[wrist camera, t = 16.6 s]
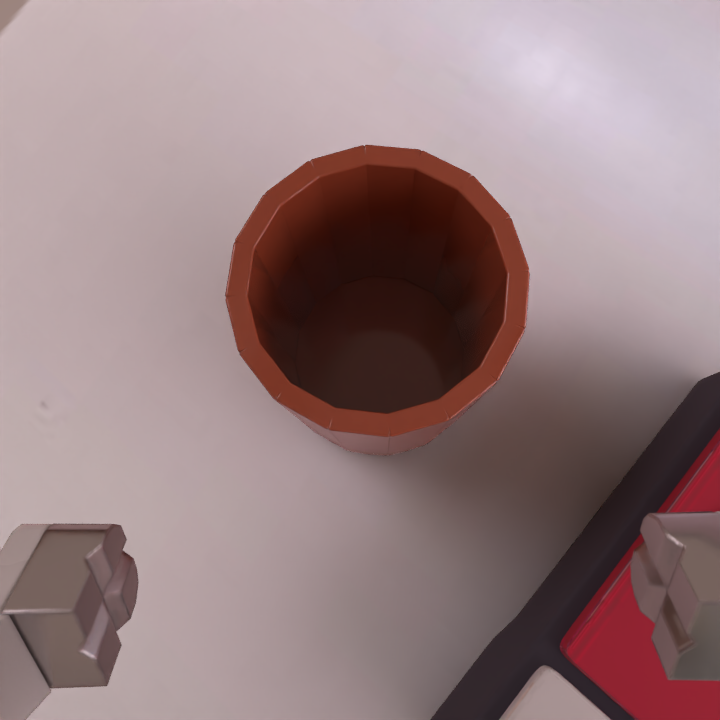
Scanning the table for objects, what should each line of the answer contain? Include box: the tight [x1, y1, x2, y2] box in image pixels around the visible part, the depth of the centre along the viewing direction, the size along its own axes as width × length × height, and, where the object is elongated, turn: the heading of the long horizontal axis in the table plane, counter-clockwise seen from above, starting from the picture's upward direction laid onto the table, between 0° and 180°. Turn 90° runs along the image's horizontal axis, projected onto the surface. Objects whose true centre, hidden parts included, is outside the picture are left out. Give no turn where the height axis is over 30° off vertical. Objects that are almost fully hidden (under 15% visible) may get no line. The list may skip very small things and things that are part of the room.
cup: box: [225, 145, 530, 456], centre depth 18 cm, size 7×7×8 cm
